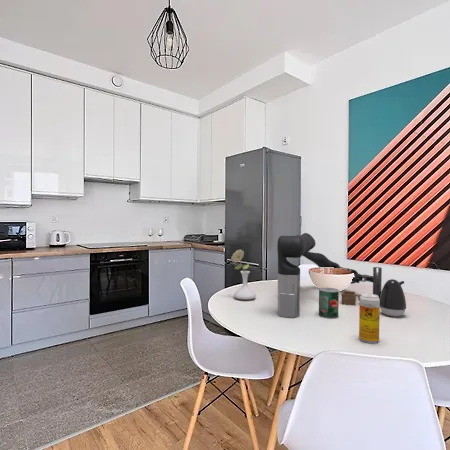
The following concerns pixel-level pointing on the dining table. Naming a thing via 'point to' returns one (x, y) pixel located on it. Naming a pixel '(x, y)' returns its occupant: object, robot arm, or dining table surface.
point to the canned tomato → (328, 303)
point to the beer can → (369, 318)
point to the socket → (348, 298)
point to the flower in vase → (244, 291)
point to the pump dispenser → (393, 298)
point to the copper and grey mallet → (376, 281)
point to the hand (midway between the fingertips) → (366, 280)
